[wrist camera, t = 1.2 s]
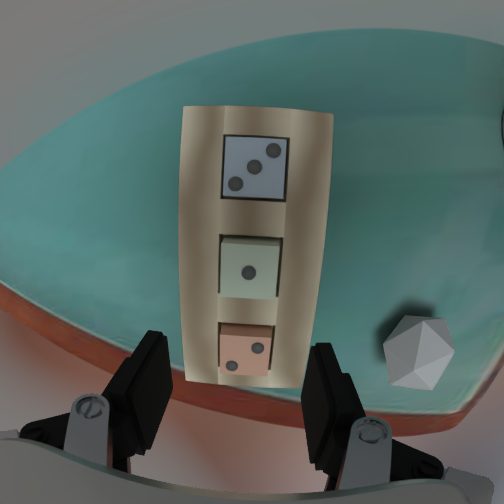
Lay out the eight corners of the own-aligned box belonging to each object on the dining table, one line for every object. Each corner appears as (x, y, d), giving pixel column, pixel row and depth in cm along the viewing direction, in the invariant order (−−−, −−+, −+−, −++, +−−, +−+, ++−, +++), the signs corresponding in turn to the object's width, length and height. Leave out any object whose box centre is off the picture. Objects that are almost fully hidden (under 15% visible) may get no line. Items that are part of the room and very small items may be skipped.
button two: (270, 321, 27) (271, 338, 24) (266, 358, 28) (267, 377, 25) (223, 318, 27) (219, 335, 24) (223, 355, 28) (219, 374, 25)
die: (358, 334, 30) (381, 411, 24) (410, 293, 24) (445, 383, 18) (400, 330, 33) (422, 395, 27) (446, 294, 28) (476, 366, 21)
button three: (283, 144, 22) (286, 139, 19) (280, 196, 24) (283, 198, 20) (230, 141, 22) (225, 136, 19) (227, 193, 24) (222, 195, 21)
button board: (323, 122, 24) (333, 113, 20) (297, 365, 31) (301, 388, 27) (194, 115, 24) (183, 106, 20) (193, 358, 31) (185, 380, 27)
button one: (277, 238, 25) (279, 247, 21) (273, 286, 26) (275, 301, 23) (225, 235, 25) (220, 243, 22) (224, 283, 26) (219, 297, 23)
